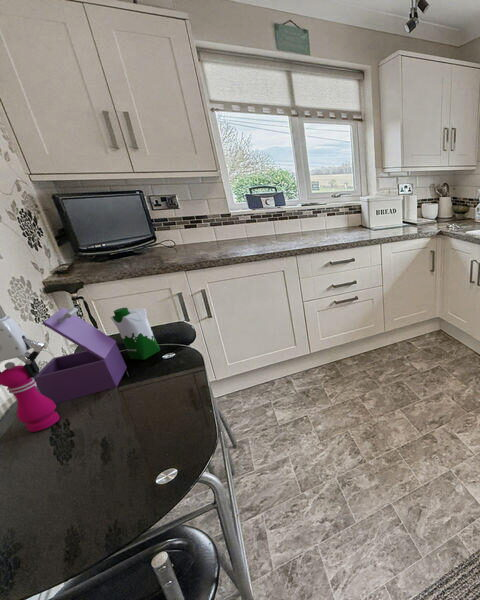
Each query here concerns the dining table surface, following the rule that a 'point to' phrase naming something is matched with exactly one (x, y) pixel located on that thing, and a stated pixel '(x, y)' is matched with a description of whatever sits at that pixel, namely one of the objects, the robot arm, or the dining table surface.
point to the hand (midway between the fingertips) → (18, 379)
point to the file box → (80, 375)
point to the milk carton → (135, 332)
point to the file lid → (80, 332)
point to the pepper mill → (28, 398)
